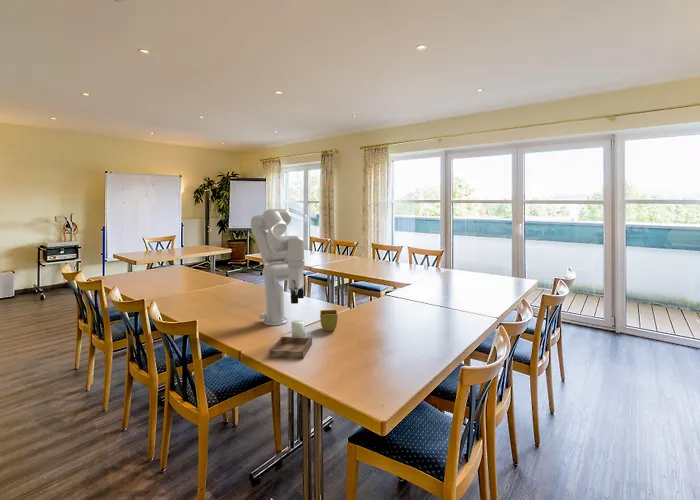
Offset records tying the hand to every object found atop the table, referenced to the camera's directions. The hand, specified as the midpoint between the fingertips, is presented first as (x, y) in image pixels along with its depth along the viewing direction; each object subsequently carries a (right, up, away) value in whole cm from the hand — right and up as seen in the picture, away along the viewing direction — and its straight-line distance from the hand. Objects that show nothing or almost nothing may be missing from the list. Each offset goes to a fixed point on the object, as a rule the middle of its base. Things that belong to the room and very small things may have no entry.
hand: (297, 300), depth 162 cm
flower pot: (+14, -17, +15) cm, 26 cm away
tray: (-1, -20, -12) cm, 23 cm away
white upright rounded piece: (0, -18, +2) cm, 18 cm away
